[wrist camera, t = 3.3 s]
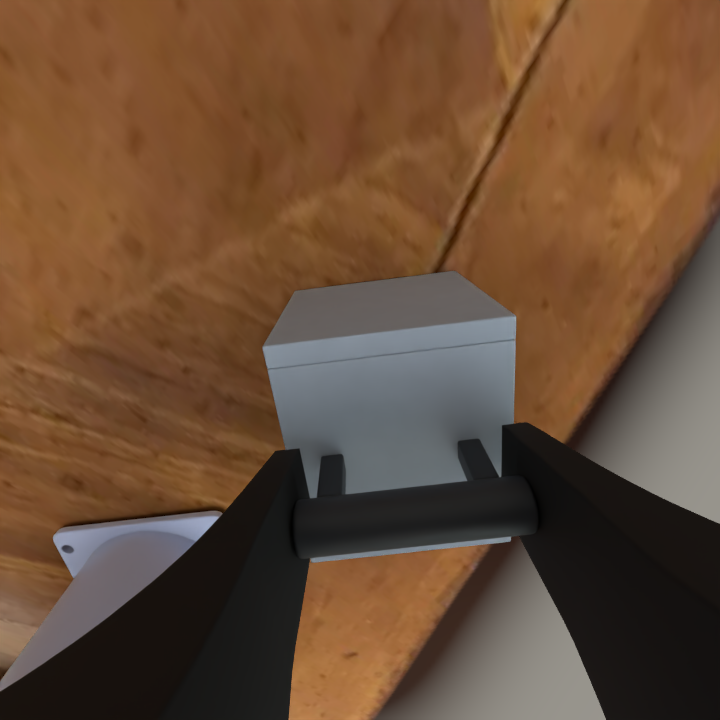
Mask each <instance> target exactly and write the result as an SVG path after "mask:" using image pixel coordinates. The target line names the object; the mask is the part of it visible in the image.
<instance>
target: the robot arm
mask: <svg viewBox="0 0 720 720" xmlns="http://www.w3.org/2000/svg"><path fill="white" fill-rule="evenodd" d="M515 475H520V476H523V477H525V478H526V480H527V481H528V483H529V484H530V486H531V488H532V491H533V493H534V496H535V499H536V503H537V507H538V514H539V526H538V530H537V532H536V533H534V534H531V535H521V536H519V537H520V539H521V541H522V543H523V545H524V547H525V549H526V550H527V552H528V554H529V556H530V558H531V560H532V562H533V564H534V565H535V567H536V569H537V571H538V573H539V575H540V577H541V579H542V581H543V583H544V584H545V586H546V588H547V590H548V592H549V594H550V596H551V598H552V599H553V601H554V603H555V605H556V607H557V609H558V611H559V613H560V615H561V616H562V618H563V620H564V622H565V624H566V627H567V629H568V630H569V632H570V635H571V637H572V639H573V641H574V643H575V646H576V648H577V650H578V653H579V655H580V657H581V660H582V662H583V665H584V667H585V669H586V672H587V674H588V676H589V679H590V681H591V683H592V686H593V688H594V691H595V693H596V695H597V698H598V700H599V703H600V705H601V708H602V710H603V713H604V715H605V718H606V720H720V524H719V523H716V522H714V521H711V520H709V519H707V518H705V517H702V516H700V515H698V514H696V513H694V512H691V511H689V510H687V509H684V508H682V507H680V506H678V505H676V504H673V503H671V502H669V501H667V500H665V499H662V498H661V497H659V496H657V495H655V494H652V493H650V492H649V491H647V490H645V489H643V488H641V487H639V486H637V485H635V484H633V483H631V482H629V481H627V480H626V479H624V478H622V477H620V476H618V475H616V474H614V473H612V472H611V471H609V470H607V469H605V468H604V467H602V466H600V465H598V464H596V463H595V462H593V461H591V460H590V459H588V458H586V457H585V456H583V455H581V454H580V453H578V452H576V451H575V450H573V449H571V448H569V447H568V446H566V445H565V444H563V443H561V442H560V441H558V440H556V439H555V438H553V437H551V436H550V435H548V434H546V433H545V432H543V431H541V430H540V429H538V428H536V427H535V426H533V425H531V424H529V423H527V422H525V423H516V424H507V425H502V463H501V477H506V476H515ZM309 498H310V496H309V491H308V486H307V481H306V477H305V472H304V467H303V462H302V458H301V453H300V448H297V449H289V450H280V451H275V452H274V454H273V455H272V456H271V457H270V458H269V459H268V461H267V462H266V463H265V464H264V465H263V467H262V468H261V469H260V470H259V472H258V473H257V474H256V475H255V477H254V478H253V479H252V480H251V481H250V483H249V484H248V485H247V486H246V487H245V489H244V490H243V491H242V492H241V493H240V495H239V496H238V497H237V498H236V499H235V500H234V502H233V503H232V504H231V505H230V506H229V507H228V509H227V510H226V511H225V512H224V513H222V512H219V511H205V512H196V513H187V514H178V515H169V516H160V517H151V518H142V519H133V520H124V521H115V522H106V523H97V524H88V525H79V526H70V527H63V528H60V529H59V530H58V531H57V532H56V533H55V534H54V536H53V541H54V543H55V545H56V547H57V549H58V551H59V553H60V554H61V556H62V558H63V560H64V562H65V564H66V566H67V567H68V569H69V571H70V573H71V575H72V577H73V578H74V579H73V581H72V582H71V583H70V585H69V586H68V588H67V589H66V590H65V592H64V593H63V595H62V596H61V597H60V599H59V600H58V601H57V603H56V604H55V606H54V607H53V608H52V610H51V611H50V613H49V614H48V615H47V617H46V618H45V620H44V621H43V622H42V624H41V625H40V626H39V628H38V629H37V631H36V632H35V633H34V635H33V636H32V638H31V639H30V640H29V642H28V643H27V645H26V646H25V647H24V649H23V650H22V651H21V653H20V654H19V656H18V657H17V658H16V660H15V661H14V663H13V664H12V665H11V667H10V668H9V670H8V671H7V672H6V674H5V675H4V676H3V678H2V679H1V681H0V720H288V718H289V706H290V693H291V680H292V669H293V661H294V653H295V645H296V640H297V634H298V628H299V622H300V616H301V610H302V604H303V598H304V592H305V586H306V580H307V574H308V568H309V562H310V558H307V559H301V558H299V557H298V556H297V553H296V551H295V547H294V541H293V530H292V519H293V510H294V506H295V503H296V501H298V500H300V499H309Z"/></svg>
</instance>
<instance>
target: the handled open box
mask: <svg viewBox="0 0 720 720" xmlns="http://www.w3.org/2000/svg"><path fill="white" fill-rule="evenodd" d="M515 338H516V315H514V314H513V313H512V312H510V311H509V310H507V309H506V308H505V307H503V306H502V305H501V304H499V303H498V302H497V301H495V300H494V299H493V298H491V297H490V296H489V295H487V294H486V293H485V292H483V291H482V290H480V289H479V288H478V287H476V286H475V285H474V284H472V283H471V282H470V281H468V280H467V279H466V278H464V277H463V276H462V275H460V274H459V273H457V272H456V271H449V272H441V273H433V274H425V275H417V276H409V277H401V278H393V279H385V280H377V281H369V282H361V283H353V284H346V285H338V286H330V287H322V288H314V289H306V290H298V291H295V292H294V293H293V295H292V297H291V299H290V300H289V302H288V304H287V306H286V307H285V309H284V311H283V312H282V314H281V316H280V318H279V319H278V321H277V323H276V324H275V326H274V328H273V330H272V331H271V333H270V335H269V337H268V338H267V340H266V342H265V343H264V345H263V353H264V357H265V362H266V366H267V368H268V375H269V379H270V383H271V388H272V392H273V397H274V401H275V405H276V410H277V414H278V419H279V423H280V427H281V432H282V436H283V441H284V445H285V449H286V450H289V449H297V448H300V453H301V458H302V462H303V467H304V472H305V477H306V481H307V486H308V491H309V496H310V498H309V499H300V500H298V501H296V503H295V506H294V510H293V519H292V530H293V541H294V547H295V551H296V553H297V556H298V557H299V558H301V559H307V558H310V559H311V562H312V563H314V562H323V561H333V560H342V559H351V558H361V557H370V556H379V555H389V554H398V553H407V552H417V551H426V550H435V549H445V548H454V547H463V546H473V545H482V544H491V543H501V542H509V541H511V537H512V536H521V535H531V534H534V533H536V532H537V530H538V526H539V514H538V507H537V503H536V499H535V496H534V493H533V491H532V488H531V486H530V484H529V483H528V481H527V480H526V478H525V477H523V476H520V475H515V476H506V477H501V463H502V425H507V424H514V387H515V347H516V341H515Z"/></svg>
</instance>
